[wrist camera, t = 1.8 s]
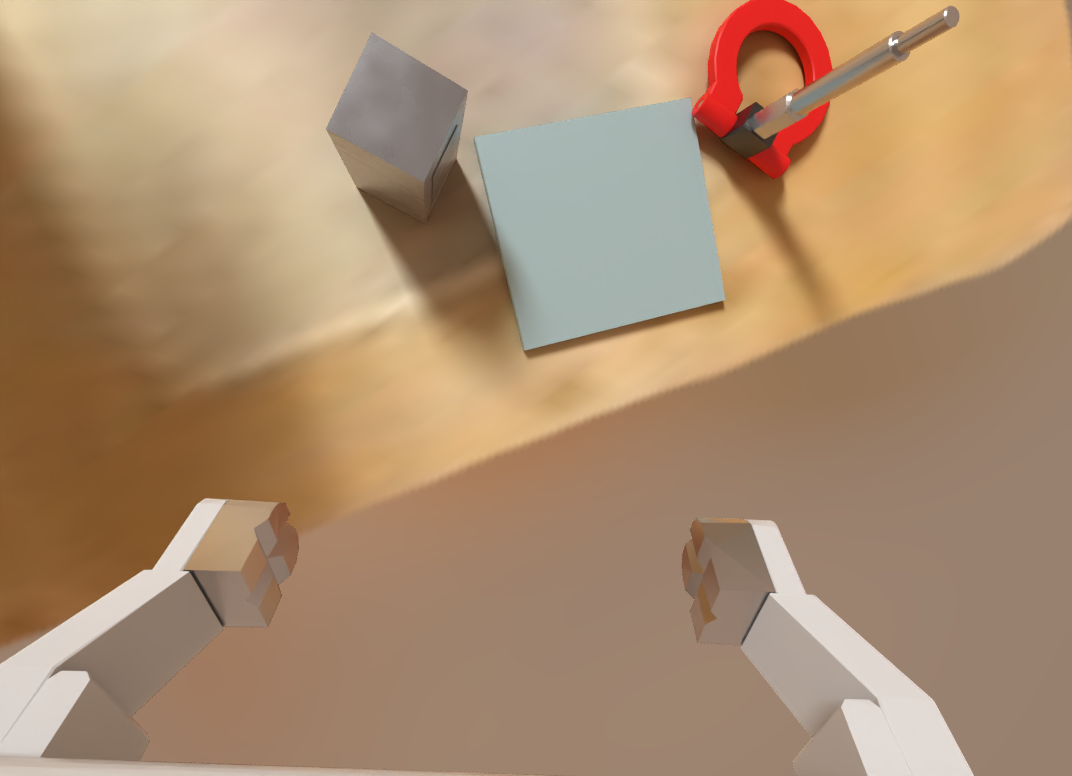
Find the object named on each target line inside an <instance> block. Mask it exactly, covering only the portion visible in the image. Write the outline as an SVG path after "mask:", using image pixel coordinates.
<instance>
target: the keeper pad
mask: <svg viewBox="0 0 1072 776" xmlns="http://www.w3.org/2000/svg"><path fill="white" fill-rule="evenodd" d="M692 110H693V109H692V103H691V98H686V99H680V100H675V101H669V102H664V103H658V104H653V105H647V106H642V107H636V108H631V109H625V110H620V111H614V112H609V113H603V114H598V115H593V116H587V117H582V118H576V119H571V120H565V121H560V122H554V123H549V124H543V125H538V126H532V127H527V128H521V129H516V130H511V131H505V132H500V133H494V134H489V135H483V136H478V137H474V144H475V149H476V153H477V157H478V161H479V165H480V170H481V174H482V178H483V182H484V186H485V191H486V195H487V199H488V203H489V208H490V212H491V216H492V220H493V224H494V229H495V233H496V237H497V241H498V245H499V250H500V254H501V258H502V262H503V266H504V271H505V275H506V279H507V283H508V287H509V292H510V296H511V300H512V304H513V309H514V313H515V317H516V321H517V325H518V330H519V334H520V338H521V342H522V346H523V350H529V349H533V348H537V347H541V346H545V345H549V344H553V343H557V342H561V341H565V340H569V339H573V338H577V337H581V336H585V335H588V334H592V333H596V332H600V331H604V330H608V329H612V328H616V327H620V326H624V325H628V324H632V323H636V322H640V321H644V320H648V319H652V318H656V317H660V316H664V315H668V314H672V313H676V312H680V311H684V310H688V309H692V308H696V307H700V306H703V305H707V304H711V303H715V302H719V301H723V300H725V294H724V288H723V282H722V277H721V271H720V265H719V259H718V253H717V248H716V242H715V236H714V230H713V224H712V219H711V213H710V207H709V201H708V196H707V190H706V184H705V178H704V172H703V167H702V161H701V155H700V149H699V143H698V138H697V132H696V126H695V120H694V116H693V115H691V114H692Z"/></svg>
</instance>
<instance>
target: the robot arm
mask: <svg viewBox="0 0 1072 776" xmlns="http://www.w3.org/2000/svg"><path fill="white" fill-rule="evenodd" d="M289 515H290V513H289V510H288V508H287V506H286V503H279V502H263V501H248V500H233V499H212V498H205V499H203V500H202V501H201V502H199V503H198V504H197V505H196V506H195V507H194V509H193V510H192V512H191V513H190V515H189V516H188V518H187V519H186V521H185V522H184V524H183V525H182V527H181V528H180V529H179V531H178V532H177V534H176V535H175V537H174V538H173V540H172V541H171V543H170V544H169V546H168V547H167V549H166V550H165V552H164V553H163V555H162V556H161V557H160V559H159V560H158V562H157V563H156V565H155V566H154V568H153V569H152V570H143V571H141V572H140V573H138V574H137V575H135V576H134V577H132V578H131V579H129V580H128V581H126V582H125V583H123V584H122V585H120V586H118V587H117V588H115V589H114V590H112V591H111V592H109V593H108V594H106V595H105V596H103V597H102V598H100V599H99V600H97V601H96V602H94V603H93V604H91V605H89V606H88V607H86V608H85V609H83V610H82V611H80V612H79V613H77V614H76V615H74V616H73V617H71V618H70V619H68V620H67V621H65V622H64V623H62V624H60V625H59V626H57V627H56V628H54V629H53V630H51V631H50V632H48V633H47V634H45V635H44V636H42V637H41V638H39V639H38V640H36V641H35V642H33V643H32V644H30V645H29V646H27V647H25V648H24V649H22V650H21V651H19V652H18V653H16V654H15V655H13V656H12V657H10V658H9V659H7V660H6V661H4V662H3V663H1V664H0V776H556V775H528V774H499V773H471V772H443V771H442V772H441V771H414V770H386V769H358V768H357V769H356V768H329V767H328V768H327V767H300V766H299V767H298V766H269V765H243V764H241V765H240V764H214V763H183V762H157V761H140V759H141V757H142V755H143V753H144V751H145V749H146V747H147V745H148V743H149V741H150V740H149V737H148V734H147V732H146V731H145V730H144V729H143V728H142V727H141V726H140V725H139V724H138V723H137V722H136V721H135V720H134V719H133V718H132V716H133V715H134V714H135V713H136V712H137V711H138V710H139V709H140V708H141V707H142V706H143V705H144V704H145V703H146V702H148V701H149V700H150V699H151V697H153V696H154V695H155V694H156V693H157V692H158V691H159V690H160V689H161V688H162V687H163V686H164V685H165V684H166V683H167V682H169V681H170V680H171V679H172V678H173V677H174V676H175V675H176V674H177V673H178V672H179V671H180V670H181V669H182V668H183V667H185V666H186V665H187V664H188V663H189V662H190V661H191V660H192V659H193V658H194V657H195V656H196V655H197V654H198V653H199V652H200V651H201V650H202V649H203V648H205V646H207V645H208V644H209V643H210V642H211V641H212V640H213V639H214V638H215V637H216V636H217V635H218V634H219V633H220V632H221V631H223V627H268V626H269V624H270V622H271V619H272V617H273V615H274V612H275V610H276V608H277V606H278V603H279V601H280V599H281V597H282V595H281V591H280V588H279V584H280V583H282V582H283V581H284V580H285V579H286V578H288V577H289V576H290V575H291V573H292V571H293V569H294V566H295V564H296V560H297V554H298V549H299V542H298V535H297V532H296V529H295V528H294V527H293V526H291V525H290V524H288V523H287V520H288V517H289ZM690 532H691V536H692V539H691V540H690V541H688V542H687V543H686V544H685V546H684V550H683V554H682V575H683V582H684V587H685V590H686V591H687V592H688V594H689V595H690V596H691V597H692V598H693V599H694V601H693V604H692V607H691V609H690V613H691V617H692V622H693V626H694V630H695V634H696V639H697V643H701V644H717V645H732V646H742V647H741V649H742V651H744V653H745V654H746V656H747V657H748V658H749V659H750V661H751V662H752V663H753V664H754V666H755V667H756V668H757V669H758V670H759V672H760V673H761V674H762V676H763V677H764V678H765V679H766V681H767V682H768V683H769V685H770V686H771V687H772V688H773V690H774V691H775V692H776V693H777V695H778V696H779V697H780V698H781V700H782V701H783V702H784V703H785V705H786V706H787V707H788V708H789V710H790V711H791V712H792V714H793V715H794V716H795V717H796V719H797V720H798V721H799V722H800V724H801V725H802V726H803V727H804V728H805V730H806V731H807V732H808V734H809V735H810V736H811V737H812V739H811V740H810V741H809V742H808V743H807V745H806V746H805V747H804V748H803V749H802V750H801V752H800V753H799V754H798V755H797V756H796V758H795V759H794V761H793V763H792V765H793V769H794V772H795V775H796V776H974V775H973V773H972V771H971V770H970V768H969V766H968V764H967V762H966V760H965V758H964V757H963V755H962V753H961V751H960V749H959V747H958V745H957V743H956V742H955V740H954V738H953V736H952V734H951V732H950V730H949V728H948V727H947V725H946V723H945V721H944V719H943V717H942V715H941V713H940V712H939V710H938V708H937V706H936V704H935V702H934V700H932V699H931V698H930V697H929V696H928V695H927V694H926V693H925V692H923V691H922V690H921V689H920V688H919V687H918V686H917V685H915V684H914V683H913V682H912V681H911V680H910V679H909V678H908V677H906V676H905V675H904V674H903V673H902V672H901V671H899V670H898V669H897V668H896V667H895V666H894V665H893V664H892V663H891V662H889V661H888V660H887V659H886V658H885V657H884V656H883V655H882V654H880V653H879V652H878V651H877V650H876V649H875V648H873V646H871V645H870V644H869V643H868V642H867V641H866V640H865V639H863V638H862V637H861V636H860V635H859V634H858V633H857V632H856V631H854V630H853V629H852V628H851V627H850V626H849V625H848V624H846V623H845V622H844V621H843V620H842V619H841V618H840V617H839V616H837V615H836V614H835V613H834V612H833V611H832V610H831V609H830V608H828V607H827V606H826V605H825V604H824V603H823V602H821V601H820V600H819V599H818V598H817V597H816V596H815V595H808V594H806V592H805V590H804V588H803V585H802V583H801V581H800V578H799V576H798V574H797V571H796V569H795V567H794V564H793V562H792V560H791V557H790V555H789V553H788V551H787V548H786V546H785V543H784V541H783V539H782V537H781V534H780V532H779V529H778V527H777V525H776V524H775V523H774V522H773V521H767V520H744V519H723V518H721V519H720V518H696V519H695V520H694V521H693V522H692V525H691V528H690Z"/></svg>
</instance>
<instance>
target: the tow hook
mask: <svg viewBox="0 0 1072 776" xmlns="http://www.w3.org/2000/svg"><path fill="white" fill-rule="evenodd" d="M958 21H959V12H958V10H957V9H956V8H955V7H953V6H948V7H946V8H945V9H943V10H941V11H940V12H938V13H936V14H935V15H933V16H931V17H930V18H928V19H926V20H925V21H923V22H921V23H919V24H918V25H916V26H914V27H913V28H911V29H909V30H908V31H906V32H904V33H903V32H901V31H897V32H894V33H893V34H891V35H889V36H888V37H886V38H884V39H883V40H881V41H879V42H878V43H876V44H874V45H873V46H871V47H870V48H868V49H866V50H865V51H863V52H861V53H860V54H858V55H856V56H855V57H853V58H851V59H850V60H848V61H846V62H845V63H843V64H841V65H840V66H838V67H836V68H835V69H833V70H832V65H831V60H830V56H829V51H828V48H827V46H826V44H825V41H824V39H823V37H822V34H821V32H820V31H819V29H818V28H817V27H816V25H815V24H814V23H813V21H812V20H811V18H810V17H809V16H808V15H806V14H805V13H804V12H803V11H802V10H801V9H799V8H798V7H797V6H795V5H793V4H791V3H789V2H787V1H785V0H750V1H748V2H747V3H745V4H743V5H742V6H740V7H739V8H737V9H736V10H735V11H734V12H733V13H731V14H730V15H729V17H728V18H727V19H726V20H725V21H724V22H723V24H722V25H721V26H720V27H719V29H718V31H717V33H716V35H715V38H714V40H713V42H712V44H711V49H710V55H709V60H708V80H709V88H708V90H707V92H706V93H705V94H704V95H703V96H702V97H701V98H700V99H699V100H698V102H697V103H696V105H695V106H694V108H693V110H692V114H691V115H693V116H694V117H695V118H696V119H698V120H699V121H700V122H701V123H703V124H704V125H705V126H706V127H708V128H709V129H710V130H712V131H713V132H714V133H715V134H717V135H718V136H719V139H720V140H721V141H722V142H723V143H725V144H726V145H727V146H729V147H730V148H731V149H732V150H734V151H735V152H736V153H737V154H739V155H740V156H741V157H743V158H744V159H748V160H750V161H751V162H752V163H753V164H755V165H756V166H757V167H758V168H760V169H761V170H762V171H763V172H765V173H766V174H767V175H769V176H770V177H771V178H772V179H776V178H778V177H780V176H781V175H782V174H783V173H784V172H785V171H786V170H787V168H788V167H789V165H790V162H791V160H790V158H788V157H787V155H788V153H789V151H790V149H791V147H792V146H794V145H796V144H798V143H800V142H801V141H803V140H804V139H806V138H807V137H808V136H810V135H811V134H813V132H814V131H815V130H816V128H817V127H818V126H819V125H820V123H821V122H822V121H823V118H824V116H825V114H826V112H827V109H828V107H829V104H830V100H832V99H834V98H836V97H838V96H839V95H841V94H843V93H845V92H847V91H849V90H851V89H852V88H854V87H856V86H858V85H860V84H862V83H863V82H865V81H867V80H869V79H871V78H873V77H875V76H876V75H878V74H880V73H882V72H884V71H886V70H887V69H889V68H891V67H893V66H895V65H897V64H899V63H900V62H902V61H904V60H906V59H907V58H908V56H909V54H910V51H912V50H914V49H915V48H917V47H919V46H921V45H923V44H924V43H926V42H928V41H930V40H932V39H933V38H935V37H937V36H939V35H941V34H942V33H944V32H946V31H948V30H950V29H952V28H953V27H955V26H956V25H957V24H958ZM760 30H766V31H773V32H775V33H778V34H780V35H782V36H783V37H784V38H786V39H787V40H788V41H789V42H790V43H791V44H792V45H793V47H794V48H795V49H796V51H797V52H798V54H799V57H800V59H801V61H802V64H803V68H804V72H805V87H803V88H802V89H800V90H799V89H795V90H793V91H792V92H790V93H788V94H787V95H785V96H784V97H782V98H780V99H779V100H777V101H775V102H774V103H772V104H770V105H769V106H767V107H766V108H763V107H762V106H761V105H759V104H758V103H757V102H755V103H753V104H752V105H750V106H749V107H747V108H745V109H744V110H742V111H741V112H739V113H738V114H736V112H737V110H738V108H739V106H740V104H741V102H742V100H743V94H742V92H741V90H740V87H739V83H738V79H737V65H736V63H737V58H738V53H739V50H740V47H741V45H742V43H743V41H744V39H745V38H746V37H747V36H748V35H749V34H751V33H752V32H756V31H760Z"/></svg>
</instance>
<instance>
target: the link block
mask: <svg viewBox="0 0 1072 776" xmlns="http://www.w3.org/2000/svg"><path fill="white" fill-rule="evenodd" d="M467 93H468V90H466V89H464V88H463V87H461V86H459V85H458V84H456V83H454V82H453V81H451V80H449V79H448V78H446V77H444V76H443V75H441V74H439V73H438V72H436V71H435V70H433V69H431V68H430V67H428V66H426V65H425V64H423V63H421V62H420V61H418V60H416V59H415V58H413V57H411V56H410V55H408V54H406V53H405V52H403V51H402V50H400V49H398V48H397V47H395V46H393V45H392V44H390V43H388V42H387V41H385V40H383V39H382V38H380V37H378V36H377V35H375V34H373V33H371V35H370V37H369V39H368V42H367V44H366V46H365V48H364V50H363V52H362V54H361V56H360V58H359V61H358V63H357V65H356V67H355V69H354V71H353V73H352V75H351V77H350V79H349V82H348V84H347V86H346V88H345V90H344V92H343V94H342V96H341V98H340V101H339V103H338V105H337V107H336V109H335V111H334V113H333V115H332V117H331V119H330V122H329V124H328V126H327V128H326V130H327V132H328V133H329V135H330V137H331V139H332V141H333V143H334V145H335V147H336V149H337V151H338V153H339V154H340V156H341V158H342V160H343V162H344V164H345V166H346V168H347V170H348V172H349V174H350V175H351V177H352V179H353V181H354V183H355V185H356V187H357V188H359V189H361V190H363V191H365V192H366V193H368V194H370V195H372V196H374V197H376V198H378V199H380V200H381V201H383V202H385V203H387V204H389V205H391V206H393V207H395V208H396V209H398V210H400V211H402V212H404V213H406V214H408V215H410V216H411V217H413V218H415V219H417V220H419V221H421V222H423V223H426V221H427V218H428V216H429V214H430V212H431V210H432V208H433V206H434V204H435V202H436V200H437V198H438V196H439V194H440V191H441V189H442V187H443V185H444V183H445V181H446V179H447V177H448V175H449V173H450V171H451V169H452V166H453V164H454V162H455V160H456V157H457V151H458V145H459V140H460V134H461V128H462V122H463V116H464V110H465V105H466V99H467Z"/></svg>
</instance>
